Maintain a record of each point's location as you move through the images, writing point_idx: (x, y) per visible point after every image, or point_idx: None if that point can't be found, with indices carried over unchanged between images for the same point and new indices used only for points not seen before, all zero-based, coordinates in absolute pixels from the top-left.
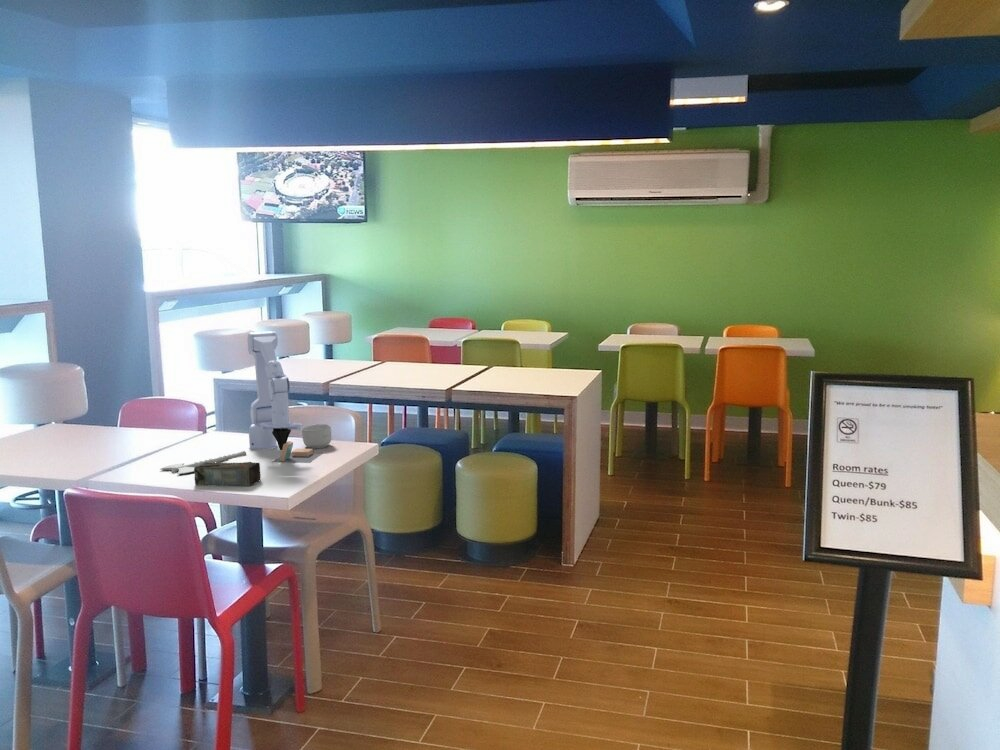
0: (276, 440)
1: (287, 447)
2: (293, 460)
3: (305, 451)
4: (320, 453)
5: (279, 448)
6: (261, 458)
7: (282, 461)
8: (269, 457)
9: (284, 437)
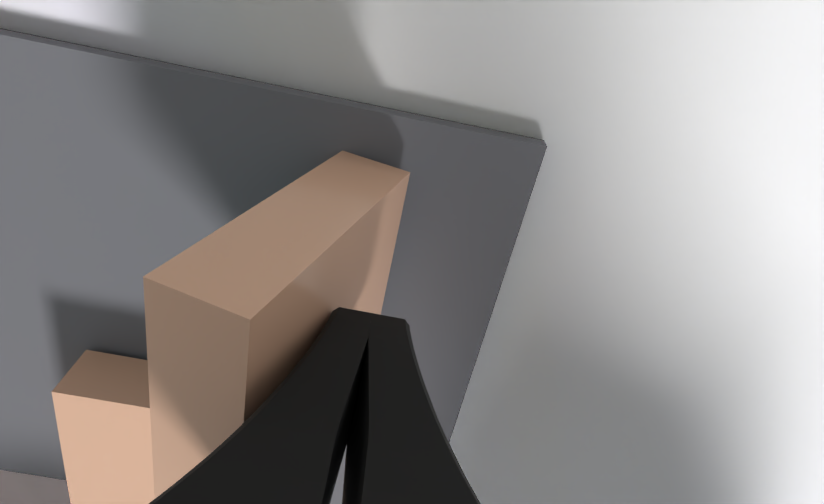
0: (464, 475)
1: (183, 260)
2: (211, 193)
3: (101, 423)
4: (18, 459)
5: (407, 334)
6: (690, 396)
7: (366, 156)
8: (592, 422)
9: (153, 501)
